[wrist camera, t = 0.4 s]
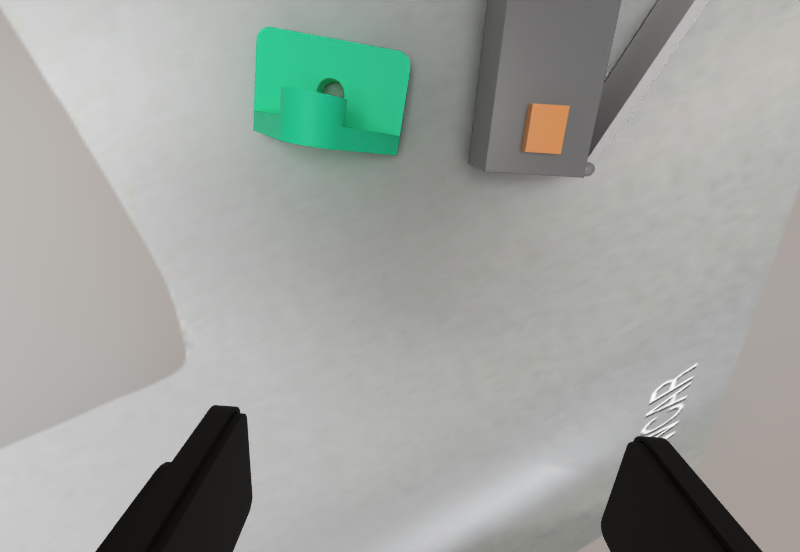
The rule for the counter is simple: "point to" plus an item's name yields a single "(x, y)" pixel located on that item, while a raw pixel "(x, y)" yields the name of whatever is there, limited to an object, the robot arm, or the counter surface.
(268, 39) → the camera mount
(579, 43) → the camera body
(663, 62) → the door
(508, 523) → the counter surface
